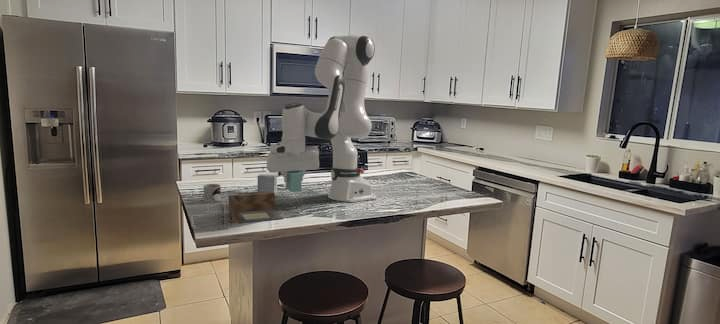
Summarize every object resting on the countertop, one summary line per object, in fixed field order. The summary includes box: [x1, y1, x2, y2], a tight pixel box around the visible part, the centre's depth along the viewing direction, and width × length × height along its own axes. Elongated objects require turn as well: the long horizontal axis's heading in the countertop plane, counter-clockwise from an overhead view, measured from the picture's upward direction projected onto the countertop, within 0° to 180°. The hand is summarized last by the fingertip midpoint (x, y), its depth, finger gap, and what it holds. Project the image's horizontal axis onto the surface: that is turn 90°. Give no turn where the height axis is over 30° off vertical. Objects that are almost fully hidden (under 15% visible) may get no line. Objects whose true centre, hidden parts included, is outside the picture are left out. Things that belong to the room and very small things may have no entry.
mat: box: [239, 209, 284, 224], centre depth 157 cm, size 16×12×1 cm
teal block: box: [285, 171, 302, 193], centre depth 160 cm, size 4×7×7 cm, turn 27°
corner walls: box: [228, 192, 276, 224], centre depth 157 cm, size 18×14×7 cm
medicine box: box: [257, 173, 278, 194], centre depth 191 cm, size 8×4×9 cm, turn 84°
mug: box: [203, 183, 222, 204], centre depth 176 cm, size 10×7×7 cm, turn 170°
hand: (293, 181), depth 161 cm, fingers closed on teal block, 4 cm apart
